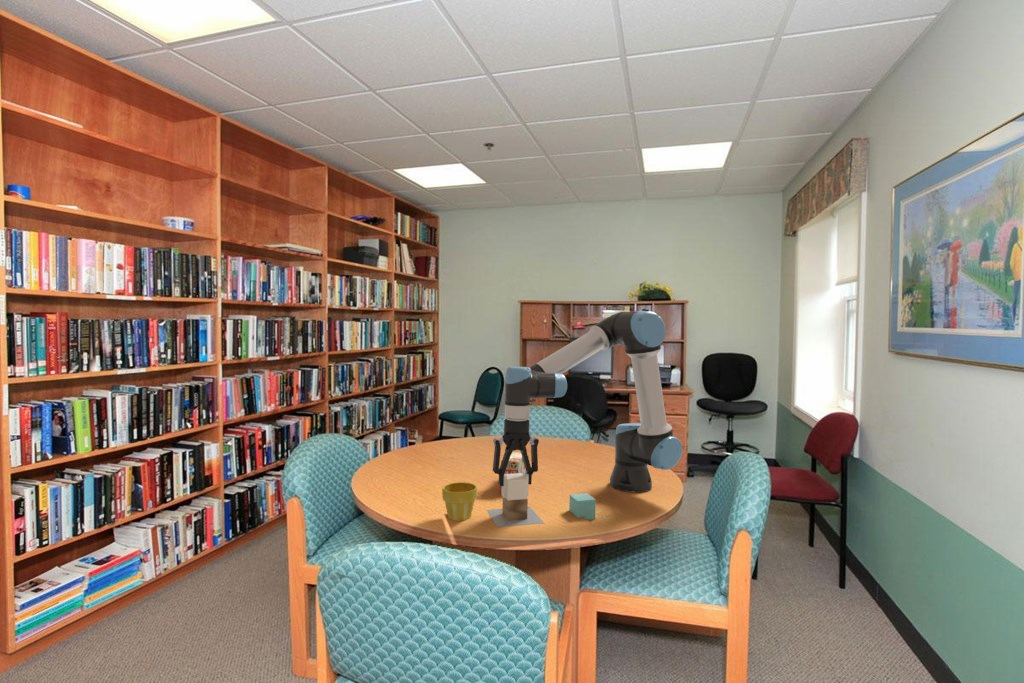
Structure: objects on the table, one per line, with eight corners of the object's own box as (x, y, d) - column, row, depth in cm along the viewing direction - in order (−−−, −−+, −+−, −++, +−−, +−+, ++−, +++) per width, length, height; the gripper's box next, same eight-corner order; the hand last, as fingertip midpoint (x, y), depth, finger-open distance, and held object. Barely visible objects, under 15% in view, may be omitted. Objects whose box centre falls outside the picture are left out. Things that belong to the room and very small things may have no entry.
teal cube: (586, 512, 159) (587, 493, 159) (595, 519, 154) (595, 499, 153) (569, 513, 158) (569, 494, 157) (576, 520, 152) (577, 501, 152)
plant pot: (435, 517, 152) (436, 485, 152) (465, 510, 158) (466, 479, 158) (452, 528, 144) (452, 494, 144) (483, 521, 150) (483, 488, 150)
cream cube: (521, 492, 155) (521, 473, 155) (527, 498, 149) (527, 478, 149) (502, 493, 154) (502, 474, 153) (507, 500, 148) (508, 480, 148)
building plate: (529, 509, 160) (529, 506, 160) (544, 526, 147) (544, 522, 147) (486, 513, 156) (486, 510, 156) (497, 530, 143) (497, 527, 143)
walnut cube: (521, 511, 155) (521, 492, 155) (527, 519, 150) (527, 498, 149) (502, 513, 154) (502, 493, 154) (507, 520, 148) (508, 500, 148)
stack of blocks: (512, 477, 195) (513, 445, 195) (528, 479, 194) (529, 446, 193) (500, 495, 174) (500, 459, 174) (517, 496, 173) (518, 461, 172)
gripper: (542, 415, 157) (540, 489, 158) (482, 417, 152) (480, 493, 152) (551, 420, 150) (549, 497, 150) (488, 421, 145) (486, 502, 145)
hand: (514, 495), depth 151 cm, fingers closed on cream cube, 6 cm apart
